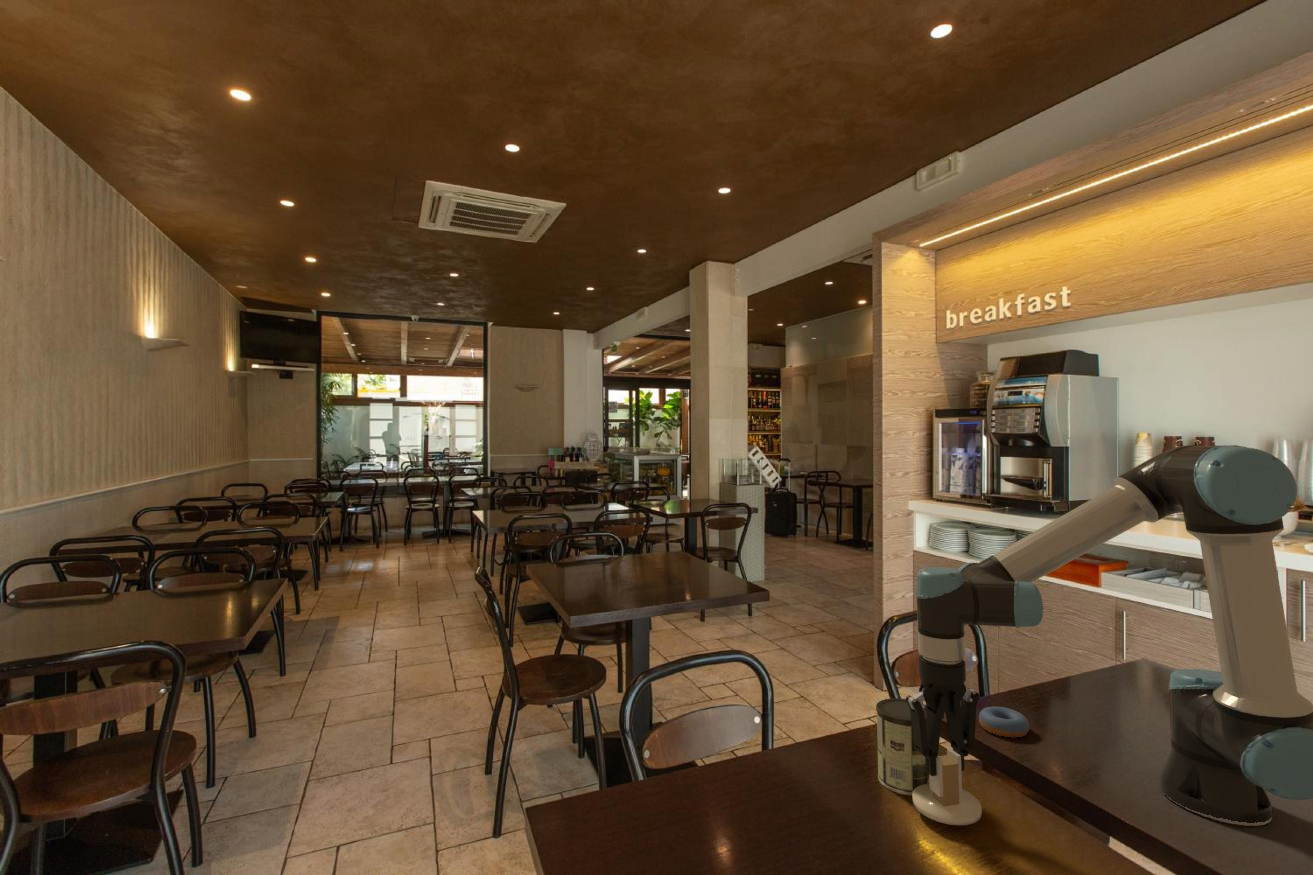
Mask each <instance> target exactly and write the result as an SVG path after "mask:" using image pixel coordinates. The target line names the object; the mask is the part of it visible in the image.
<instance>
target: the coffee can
mask: <svg viewBox="0 0 1313 875" xmlns="http://www.w3.org/2000/svg"><path fill="white" fill-rule="evenodd" d="M924 706H925V707H926V704H924ZM925 707H924V708H923V710H924V714H925V722H926V716H927V713H926V711H925ZM875 709H876V724H877V725H876V726H877V727H876V728H877V732H876V733H877V771H878V772H877V773H878V774H877V779H878V781H879V783H880V784H881V785H882V786H883V787H884V788H886V789H888V790H889V791H891V792H894V793H897V794H899V795H903V796H909V797H912V793H913V791H914V789H915V788H916V787H918V786H920V785H923V784H929V774H928V773H927V772H926V766H925V756H923V755H922V754H921V753H919V752H918V751H917V750H915V748H914V742H913V733H912V724H911V715H910V708H909V706H908V704H907V702H906V698H898V697H897V698H885V699H881V700H879V701H878V702H877V703H876V704H875Z"/></svg>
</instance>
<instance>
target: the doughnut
mask: <svg viewBox="0 0 1313 875" xmlns="http://www.w3.org/2000/svg"><path fill="white" fill-rule="evenodd" d="M978 721H979V722H978V723H979V725H980V726H981V727H982V728H983V730H985V731H986V730H987V732H988V733H990V734H992V733H993V734H992V735H994V734H996V735H995V736H997V735H999V736H998V737H1001V736H1004V737H1003V738H1006V737H1011V738H1010V739H1018V738H1017V737H1020V738H1022V736H1023V737H1025V736H1026V735H1027V734H1028V732H1029V728H1030V724H1029V720H1028V718H1026V716H1024V714H1022V713H1021V712H1019V711H1017V710H1014V709H1012V708H1009V707H1005V706H1004V707H1003V706H987V707H984V708H982V709H981V711H980V712H979V714H978Z"/></svg>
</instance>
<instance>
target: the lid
mask: <svg viewBox="0 0 1313 875" xmlns="http://www.w3.org/2000/svg"><path fill="white" fill-rule="evenodd" d="M938 756H939V757H941V758H942V769H943V796H942V797H939V796H938V795H937V794H936V793H934V792H933V791H932V790H931V789H930V783H929V784H923V785H920V786H918V787H916V788H915V789H914V791H913V793H912V796H911V797H912V804H913V807H914V808H915V809H916V810H917V812H919V813H920V814H922V815H924V816H925V817H927V818H928V819H931V821H935V822H938V823H942V824H944V825H945V824H946V825H950V826H951V825H952V826H968V825H972V824H975V823H977V822H979V821H980V819H981V818H982V816H983V815H982V814H983V812H982V804H981V803H980V800H978V799H977V797H976V796H975V795H973V794H972V793H970V792H969V791H967V790H964V789H963V788H962V793H960V794H959V774H958V763H957V762H955V761H954V760H953V759H951V758H950V757H948V756H947V754H946V755H945V754H944V755H938Z"/></svg>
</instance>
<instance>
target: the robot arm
mask: <svg viewBox="0 0 1313 875" xmlns="http://www.w3.org/2000/svg"><path fill="white" fill-rule="evenodd" d="M1297 495H1298V486H1297V482H1296V479H1295V476H1294V474H1293V473H1292V471H1291V469H1290V468H1289V466H1287V465H1286V464H1285V463H1284V462H1283V461H1282V460H1281V459H1280V458H1278V457H1276V456H1275V455H1273V454H1272V453H1269V452H1267V451H1265V450H1262V449H1259V448H1253V447H1247V446H1243V445H1242V446H1240V445H1237V444H1236V445H1235V444H1231V445H1225V444H1224V445H1200V444H1199V445H1181V446H1177V447H1174V448H1170V449H1168V450H1165V451H1163V452H1161V453H1158V454H1157V455H1155V456H1152V457H1151V458H1149V459H1148V460H1146V461H1143V462H1142V463H1140V464H1139V465H1137V466H1134V468H1132V469H1129V470H1128V471H1126V472H1125V473H1122V474H1121V475H1119V476H1117V477H1116V478H1114V480H1113V482H1112V487H1110V488H1108V489H1107V490H1105V491H1103V492H1102V493H1100V494H1098V495H1097V496H1095V497H1092V498H1091V499H1089V500H1088V501H1086V502H1083V503H1081V505H1079V506H1076V507H1075V508H1074V509H1072V510H1070V511H1068V512H1066V513H1064V514H1063V515H1061V516H1059V517H1058V518H1056V519H1054V520H1052V521H1051V522H1049V523H1047V524H1046V525H1044V526H1042V527H1039V529H1037V530H1035V531H1033V532H1031V533H1029V534H1028V535H1026V536H1024V537H1023V538H1021V539H1018V540H1017V541H1015V542H1014V543H1011V544H1010V545H1008V546H1006V547H1005V548H1003V549H1002V550H1000V551H998V552H996V553H995V554H993V555H991V556H989V557H987V558H985V559H983V560H982V561H980V562H967V563H963V564H962V565H961V566H959V568H953V567H944V566H927V567H923V568H921V569H919V570H918V572H917V575H916V589H915V590H916V592H915V596H916V597H915V598H916V612H917V613H916V615H917V616H916V617H917V644H918V645H917V646H918V653H919V656H918V675H919V678H920V686H919V688H918V693H916V694H914V695H913V696H911V695H910V694H908V695H907V696H906V697H905V699H906V702H907V704H908V706H909V708H910V715H911V724H912V733H913V742H914V748H915V750H917V751H918V752H919V753H921V754H922V755H923V756H925V766H926V772H927V773H928V774H929V783H930V789H931V790H932V791H933V792H934V793H936V794H937V795H938V796H939V797H942V796H943V769H942V758H941V757H939V756H940V755H939V751H940V750H939V749H940V738H941V729H942V720H944V718H945V721H946V725H947V730H948V738H949V741H950V742H949V743H950V744H949V745H950V748H946V755H947V756H948V757H950V758H951V759H953V760H954V761H955V762H957V763H958V774H959V794H960V793H962V789H963V780H962V779H963V777H962V772H964V771H965V757H968V756H969V754H970V752H969V751H968V750H973V749H975V746H976V743H975V742H976V725H977V724H976V722H977V706H978V703H979V700H980V697H981V695H980V693H978V692H977V691H975V690H973V689H971V688H970V687H966V684H965V683H966V680H967V675H966V673H967V670H966V668H967V667H966V661H965V660H964V659H966V640H965V625H967V626H968V625H970V626H988V627H989V626H990V627H994V626H995V627H1013V628H1017V629H1018V628H1026V627H1027V628H1028V627H1036V626H1038V625H1040V623H1041V622H1042V620H1043V616H1044V605H1043V604H1044V602H1043V598H1042V595H1041V594H1042V593H1041V591H1040V589H1039V588H1038V586H1037V585H1036V584H1035V583H1033V582H1036V581H1037V580H1039V579H1041V578H1043V577H1044V576H1045V577H1046V575H1048V574H1050V573H1052V572H1053V571H1055V570H1058V569H1059V568H1061V567H1062V566H1064V565H1066V564H1068V563H1070V562H1072V561H1074V560H1076V559H1078V558H1079V557H1080V556H1083V555H1085V554H1086V553H1088V552H1090V551H1092V550H1093V549H1097V547H1099V546H1101V545H1103V544H1105V543H1107V542H1108V541H1111V540H1112V539H1114V538H1116V537H1117V536H1119V535H1122V534H1123V533H1124V532H1128V531H1129V530H1130V529H1132V528H1134V527H1136V526H1138V525H1140V524H1141V523H1144V522H1147V523H1152V524H1153V523H1156V522H1158V521H1160V520H1162V519H1164V518H1165V517H1168V516H1171V515H1175V514H1179V513H1183V519H1184V525H1185V530H1186V532H1187V533H1188V534H1190V535H1192V536H1193V537H1194V538H1196V539H1197V540H1198V541H1199V544H1200V549H1201V556H1202V562H1203V568H1204V574H1205V580H1206V586H1207V587H1206V588H1207V593H1208V600H1209V606H1210V610H1211V611H1210V612H1211V618H1212V622H1213V628H1214V635H1215V642H1216V648H1217V653H1218V660H1219V666H1220V671H1217V670H1210V669H1196V668H1181V669H1177V670H1176V669H1175V670H1174V671H1172V672H1171V673H1170V676H1169V684H1168V687H1167V688H1168V691H1169V693H1168V694H1169V723H1170V724H1169V725H1170V749H1169V752H1168V754H1167V757H1166V759H1165V761H1164V764H1163V766H1162V768H1161V770H1160V772H1159V789H1160V788H1161V790H1162V791H1163V792H1164V793H1165V794H1166V795H1167V796H1168V797H1170V798H1171V799H1172V800H1173V801H1175V802H1177V803H1178V804H1181V805H1182V806H1184V807H1187V808H1189V809H1191V810H1194V811H1197V812H1200V813H1203V814H1206V815H1211V816H1213V817H1216V818H1223V819H1228V820H1231V821H1238V822H1247V823H1255V822H1256V823H1257V822H1265V821H1267V820H1269V819H1270V818H1271V817H1272V818H1273V804H1272V802H1271V799H1270V797H1269V795H1268V794H1272V795H1273V796H1276V797H1279V798H1281V799H1285V800H1286V799H1287V800H1293V801H1294V800H1295V801H1305V800H1312V799H1313V703H1312V701H1310V700H1309V699H1308V698H1306V697H1305V696H1303V695H1302V694H1301V693H1299V692H1298V689H1297V688H1298V687H1297V681H1296V677H1295V676H1296V675H1295V668H1294V663H1293V658H1292V651H1291V645H1290V640H1289V635H1288V633H1289V632H1288V628H1287V622H1286V615H1285V609H1284V603H1283V597H1282V592H1281V586H1280V585H1281V584H1280V580H1279V575H1278V574H1279V573H1278V567H1277V566H1278V565H1277V561H1276V556H1275V549H1274V543H1273V540H1274V539H1275V538H1276V537H1277V536H1278V535H1279V534H1280V533H1282V532H1283V531H1284V530H1285V525H1284V521H1283V517H1285V516H1286V515H1287V514H1288V513H1289V512H1290V510H1289V509H1290V508H1291V507H1293V506H1294V505H1295V503H1296V499H1297ZM924 702H925V704H924ZM924 705H926V707H925V706H924ZM924 707H925V711H926V713H927V716H926V722H925V714H924V710H923V708H924ZM1161 790H1160V791H1161Z"/></svg>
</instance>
